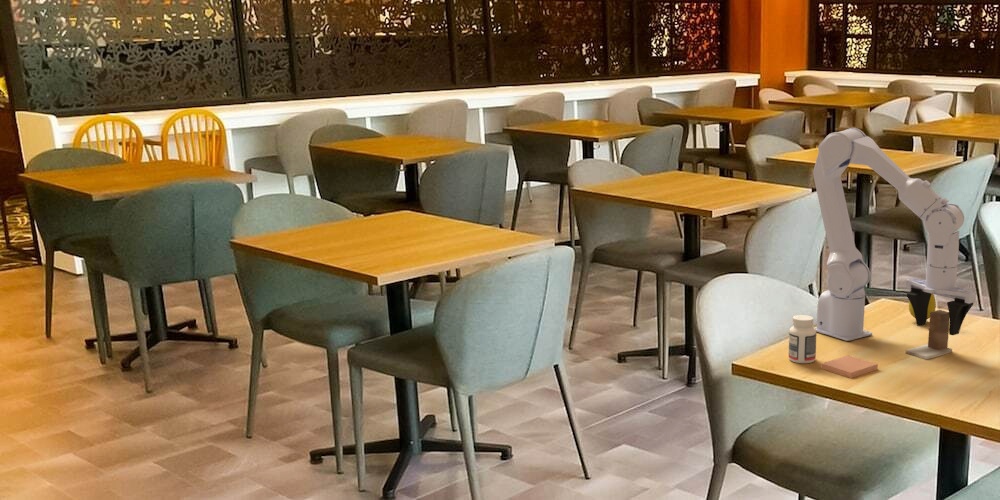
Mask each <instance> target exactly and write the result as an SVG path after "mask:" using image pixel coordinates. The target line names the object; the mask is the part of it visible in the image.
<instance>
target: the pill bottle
mask: <svg viewBox="0 0 1000 500" xmlns="http://www.w3.org/2000/svg"><path fill="white" fill-rule="evenodd" d="M791 323H792V326H791V327H790V328H789V332H788V359H789V361H790V362H794V363H795V364H810V363H813V362H815V361H816V360H817V359H816V356H817V332H816V329H815V328H816V327H814V317H813V316H811V315H806V314H796V315H794V316H792V322H791Z"/></svg>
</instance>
